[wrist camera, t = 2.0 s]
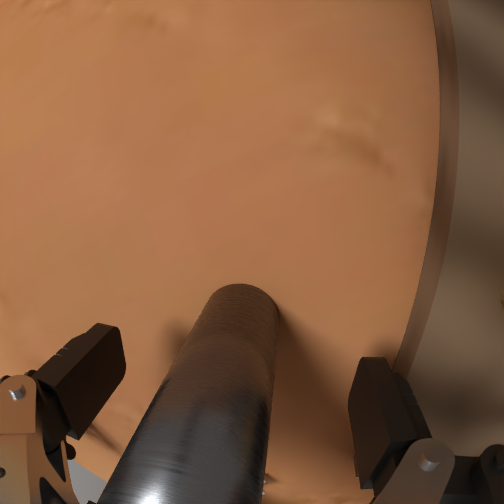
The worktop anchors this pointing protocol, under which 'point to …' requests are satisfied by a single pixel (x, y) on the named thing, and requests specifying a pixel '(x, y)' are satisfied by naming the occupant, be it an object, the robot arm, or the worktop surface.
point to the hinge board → (463, 240)
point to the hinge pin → (208, 411)
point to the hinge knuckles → (503, 304)
